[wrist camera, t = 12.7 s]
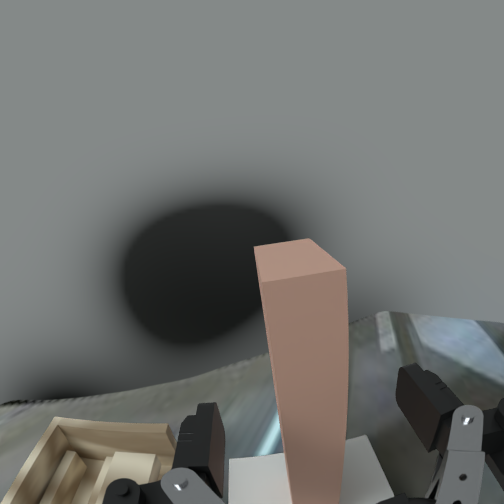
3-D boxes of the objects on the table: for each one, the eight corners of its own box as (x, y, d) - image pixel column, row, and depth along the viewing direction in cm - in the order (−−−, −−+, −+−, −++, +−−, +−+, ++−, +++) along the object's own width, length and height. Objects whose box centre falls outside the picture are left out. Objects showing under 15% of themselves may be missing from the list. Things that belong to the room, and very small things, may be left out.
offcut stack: (134, 480, 21) (114, 451, 20) (174, 482, 21) (157, 454, 20) (115, 546, 13) (87, 522, 12) (162, 554, 13) (137, 533, 12)
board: (287, 475, 21) (253, 246, 16) (321, 468, 21) (309, 238, 16) (296, 530, 15) (262, 282, 10) (336, 521, 15) (345, 268, 10)
